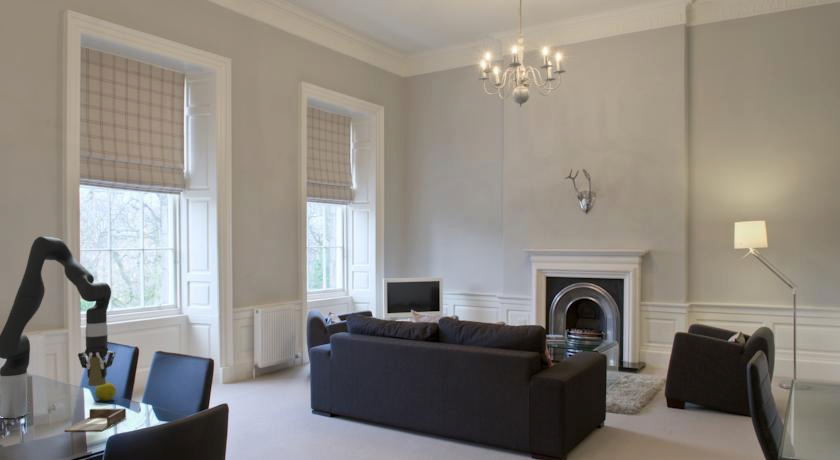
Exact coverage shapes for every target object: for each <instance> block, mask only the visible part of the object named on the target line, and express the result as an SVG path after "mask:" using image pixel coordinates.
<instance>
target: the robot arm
mask: <svg viewBox="0 0 840 460" xmlns="http://www.w3.org/2000/svg"><path fill="white" fill-rule="evenodd" d="M69 248H70V247H69V246H68V245H67V244H66V243H65V241H63V240H62V239H60V238H57V237H51V236H43V235H41V236H38V237H37V238H35V239H34V241H33V243H32V244H31V248H30V251H29V254H28V260H27V263H26V267H25V269H24V273H23V275H22V279H21V283H20V285H19V287H18V289H17V292H16V295H15V298H14V300H13V304H12V306H11V308H10V312H9V314H8V316H7V317H8V318H7V319H6V322H5V324H4V327H3V329H2V331H1V332H0V359H3V360H5V362H4V364H3V365H2V366H1V367H0V416H1V417H3V418H14V419H16V418H15V417H19V416H23V415H25V414H27V415H28V368H29V366H30V365H29V364H30V359H31V358H30V357H31V355H30V354H31V353H30V352H31V344H30V339H29V337H28V336H27V335H26V334H24V333H23V332H24V329H25V328H26V326H27V325H28V323H29V322H30V321H31V319H32V318H33V317H34V316H35V315H36V314H37V311H38V310H39V308H40V306H41V304H42V301H43V299H44V297H45V291H46V289H45V284H44V281H43V276H42V270H43V265H44V263H45V261H46V260H47V261H56V262H58V263H59V264H60V265H62V266H63V267H64V268H63V269H64V275H65V277H66V278H67V279H68V281H70V282H71V283H72V284H73V285H74V287H75V288H76V289H77V292H78V293H79V295H80V298H81V299H82V300H84V301H86V302H89V303H90V302H91V303H92V302H95V304H94V305H93V306H92V307H89V308H88V309H86V314H85V320H86V321H85V322H86V325H85V348H86V349H85V350H84V351H82V352H79V353H78V354H77V357H78V360H79V362H80V365H81V368H82V369H86V370H87V371H86V372H87V378H88V379H89V376H90V368H91V364H90V362H89V360H90V358H92V357H95V356H97V357H98V358H99V359H100V366H101V375H102V379H103V378H105V379H106V377H107V375H108V373H107V368H110V367H111V366H112V365H113V364H114V359H115V357H116V351H111V350H109V349H108V342H109V341H108V322H107V318H108V317H107V316H108V315H107V311H108V309H109V308H108V307H109V304H110V301H111V295H112V290H111V286H110V285H109V284H108V283H107V282H95V283H94V281H95V279H94V278H95V277H94V276H93V274H92V273H91V272H89V270H87V269H86V267H84V265H82V264H81V263H80V262H79V261H78V259H77V258H76V256H75V255H74V254H73V253H72V251H71V250H70V249H69ZM86 356H87V357H88V359H87V357H86ZM106 356H107V358H106ZM103 358H104V360H103V361H102V359H103ZM25 416H26V415H25ZM23 417H24V416H23ZM19 418H20V417H19Z"/></svg>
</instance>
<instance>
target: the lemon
mask: <svg viewBox="0 0 840 460" xmlns="http://www.w3.org/2000/svg"><path fill="white" fill-rule="evenodd" d="M94 392H95V393H94V394H95V395H94V396H95V397H96V398H97V399H98V400H100V401H103V402H108V401H110V400H113V399H114V397H115V396H116V393H117V388H116V386H115V385H114V384H113V383H111V382H108V381H107V382H106V384H103V385H99V386H95V390H94Z"/></svg>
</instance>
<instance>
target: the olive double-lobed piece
mask: <svg viewBox="0 0 840 460" xmlns="http://www.w3.org/2000/svg"><path fill="white" fill-rule="evenodd" d="M103 360H104V358H103V359H102V361H103ZM89 362H90V364H91V368H90V376H89V378H88V383H87V385H88V387H97V386H99V385H103V384H106V377H105V378H103V379H102V375H101V366H100V359H99V358H98V357H97V356H95V357H92V358H90V360H89Z"/></svg>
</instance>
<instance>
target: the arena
mask: <svg viewBox="0 0 840 460" xmlns="http://www.w3.org/2000/svg"><path fill="white" fill-rule="evenodd" d="M124 417H127V411H126V408H90V409H89V417H86V418H85V419H83V420H81V421H78V422H77V423H75V424H74V425H71V426H69V427H68V428H66V429H64V432H67V433H71V432H77V433H78V432H81V431H99V432H103V431H105V430H107V429H108V427H109V428H110V427H112V426H113V424H114V425H115V424H117V423H119V422H120V421H122V420H123V418H124ZM121 419H122V420H121ZM124 419H125V418H124ZM118 421H119V422H118ZM116 422H117V423H116ZM111 425H112V426H111ZM106 428H107V429H106ZM104 429H105V430H104ZM102 430H103V431H102Z"/></svg>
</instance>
